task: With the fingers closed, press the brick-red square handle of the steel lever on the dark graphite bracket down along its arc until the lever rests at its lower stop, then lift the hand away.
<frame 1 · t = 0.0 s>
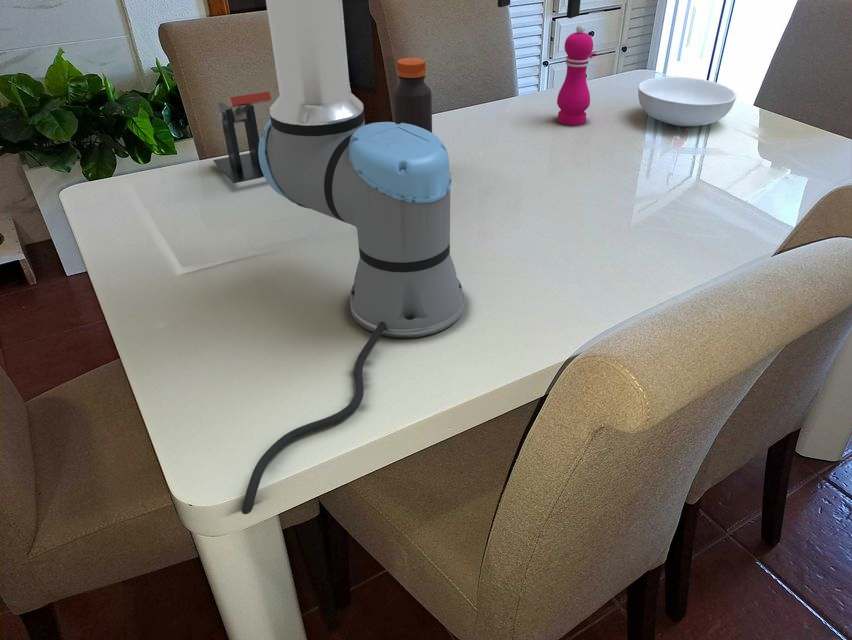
hand: (537, 11, 117), 28 cm above the table, tool pointing down, fingers open, 13 cm apart
bracket: (248, 173, 132), on the table
serving bowl: (681, 121, 158), on the table
bottle: (415, 172, 133), on the table
lever: (243, 107, 121), point 13 cm above the table, hinge at 28.0°
pepper mill: (571, 121, 157), on the table
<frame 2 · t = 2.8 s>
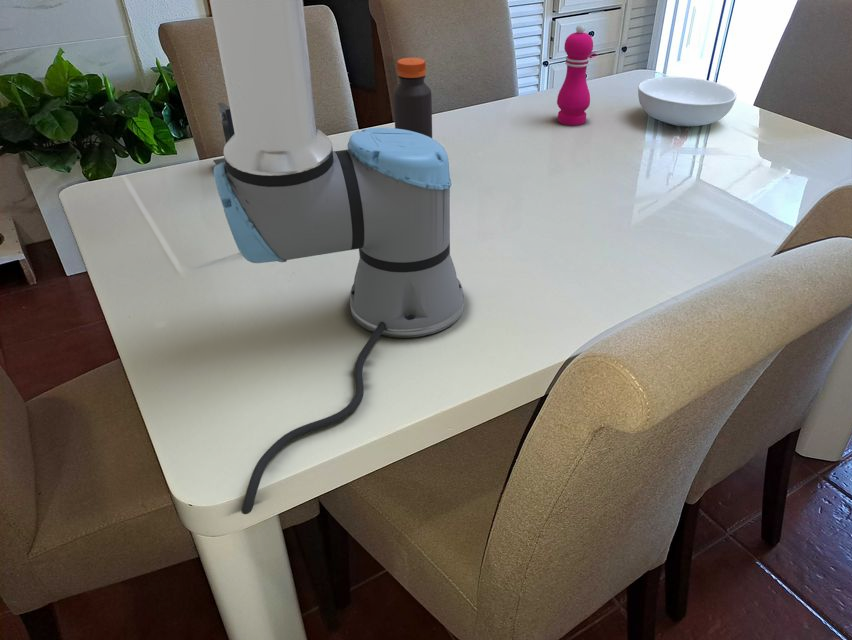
nothing on the table moved.
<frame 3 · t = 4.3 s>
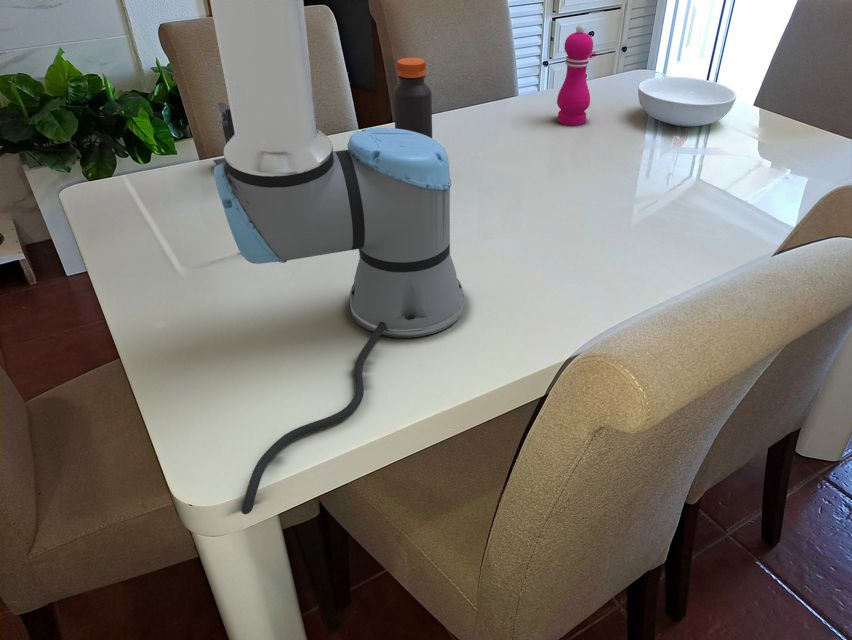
hand: (240, 41, 111), 25 cm above the table, tool pointing down, fingers closed
nothing on the table moved.
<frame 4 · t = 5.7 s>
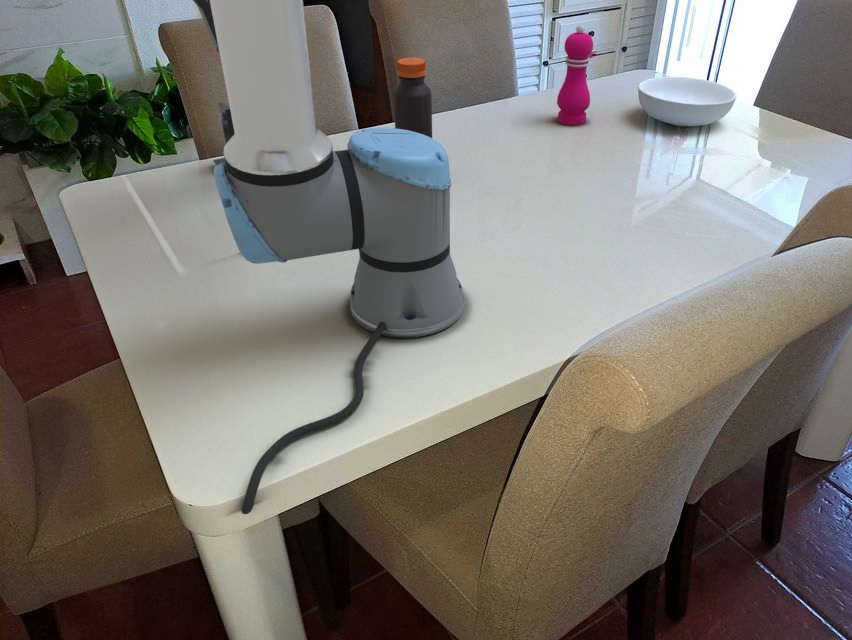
hand: (251, 99, 115), 16 cm above the table, tool pointing down, fingers closed
lever: (244, 110, 121), point 13 cm above the table, hinge at 21.9°, touching gripper
everything else where it was.
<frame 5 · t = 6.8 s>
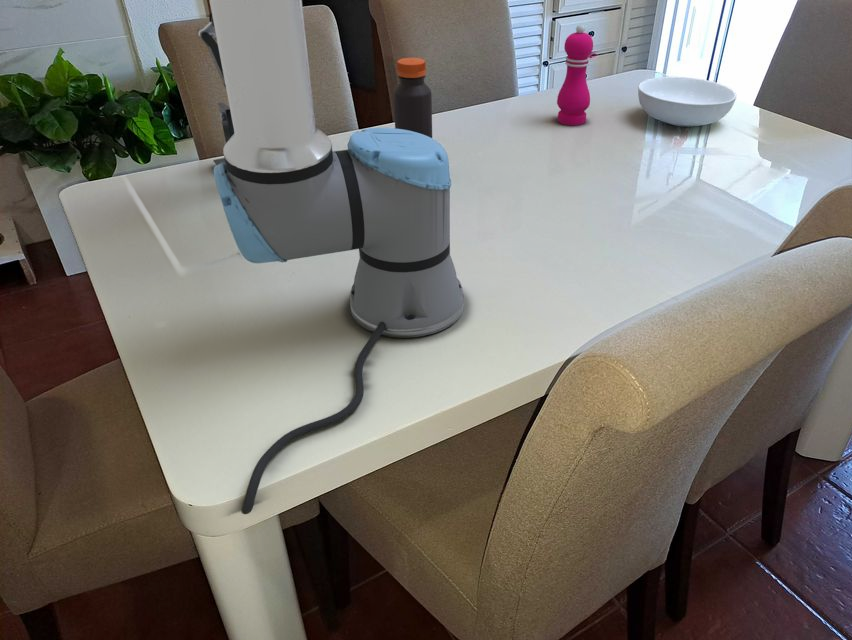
hand: (257, 132, 118), 11 cm above the table, tool pointing down, fingers closed
lever: (247, 125, 122), point 11 cm above the table, hinge at -5.6°, touching gripper
everything else where it was.
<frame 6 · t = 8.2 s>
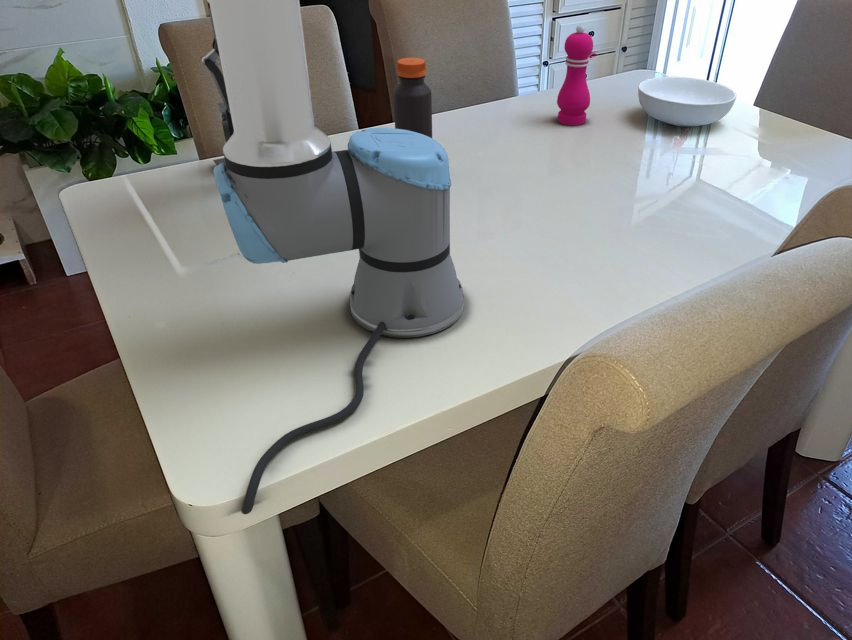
hand: (259, 153, 122), 7 cm above the table, tool pointing down, fingers closed
lever: (248, 136, 124), point 8 cm above the table, hinge at -32.7°, touching gripper
everything else where it was.
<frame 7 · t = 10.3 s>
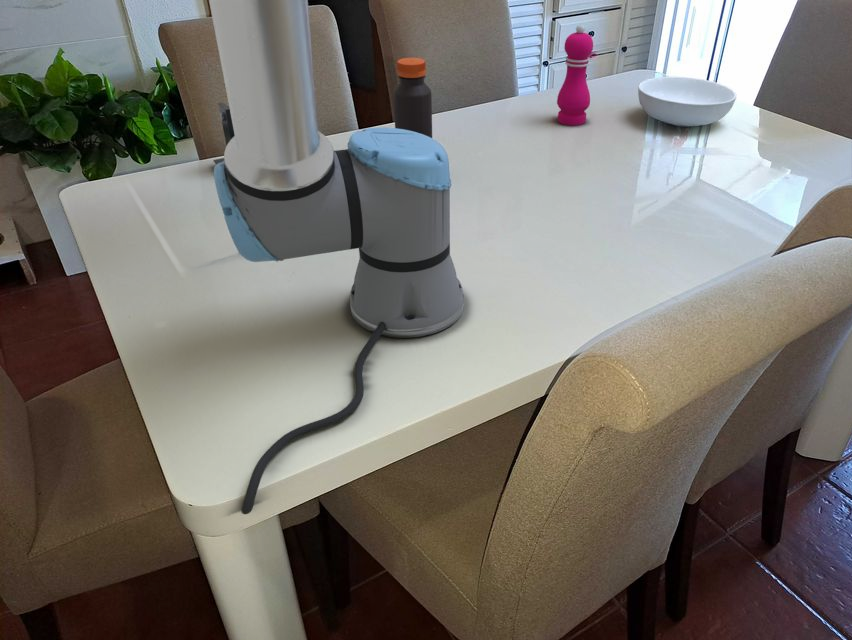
hand: (251, 40, 103), 27 cm above the table, tool pointing down, fingers closed
lever: (248, 136, 124), point 8 cm above the table, hinge at -32.7°
everything else where it was.
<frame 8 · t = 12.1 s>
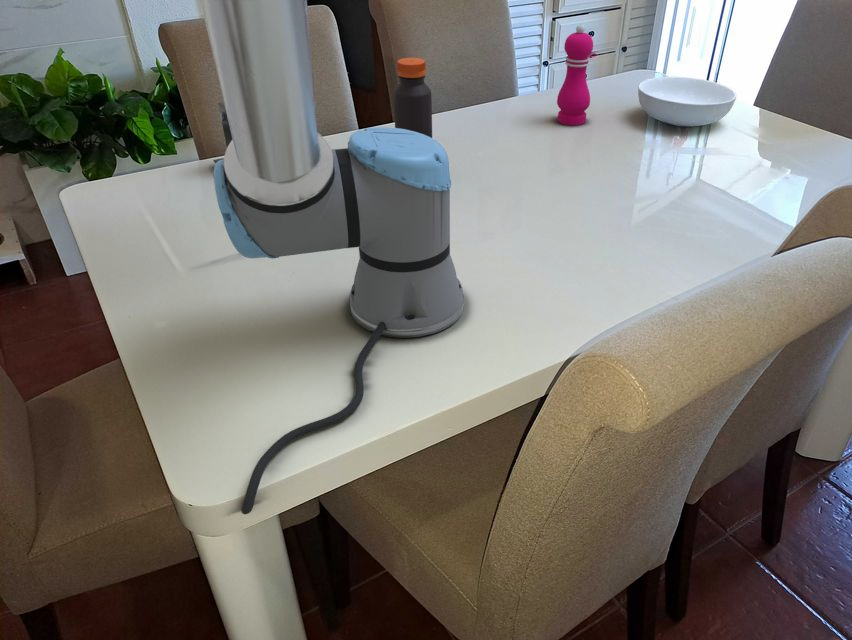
hand: (259, 9, 95), 32 cm above the table, tool pointing down, fingers closed
nothing on the table moved.
at the end: lever at -33° (first picture: +28°); lever reached -33° during the clip, -33° at the end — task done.
